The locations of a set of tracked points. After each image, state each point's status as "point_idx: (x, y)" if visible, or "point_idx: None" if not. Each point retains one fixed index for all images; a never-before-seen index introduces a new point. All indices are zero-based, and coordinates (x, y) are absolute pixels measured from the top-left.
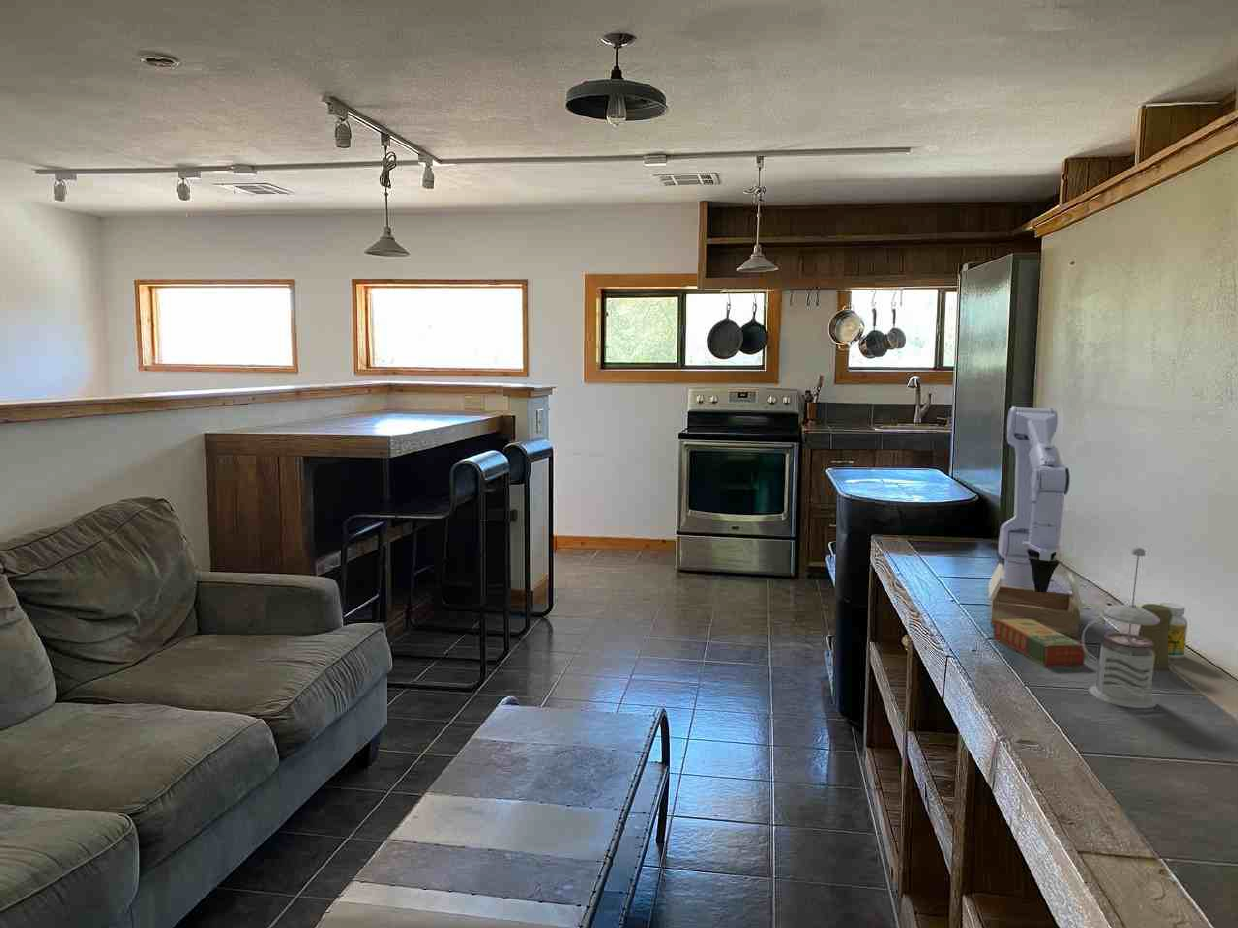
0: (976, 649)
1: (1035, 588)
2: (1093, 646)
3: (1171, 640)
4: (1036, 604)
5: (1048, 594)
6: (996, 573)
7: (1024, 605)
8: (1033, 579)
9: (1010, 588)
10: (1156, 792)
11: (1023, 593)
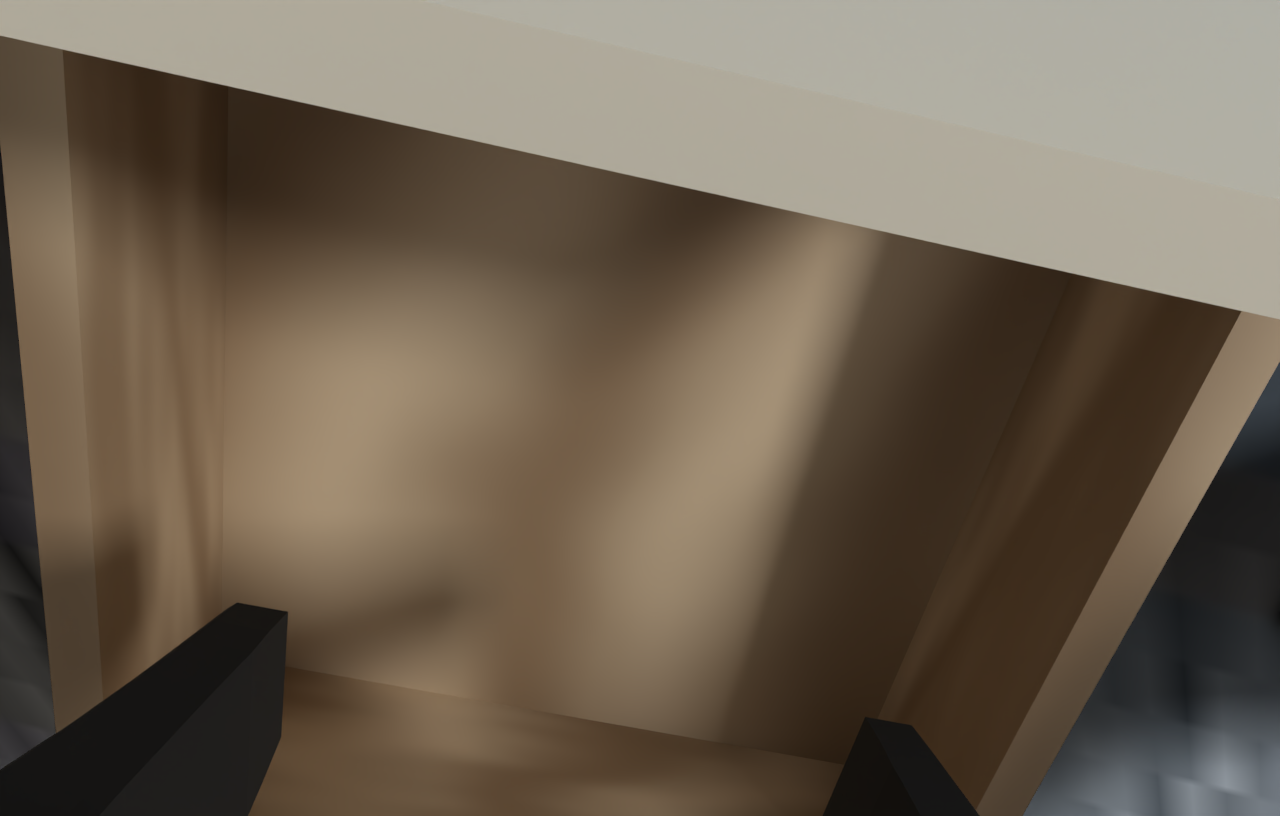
0: None
1: (202, 636)
2: (6, 694)
3: None
4: (969, 585)
5: (971, 773)
6: (1136, 81)
7: (70, 322)
8: (882, 763)
9: (1186, 384)
10: None
11: (1082, 522)
